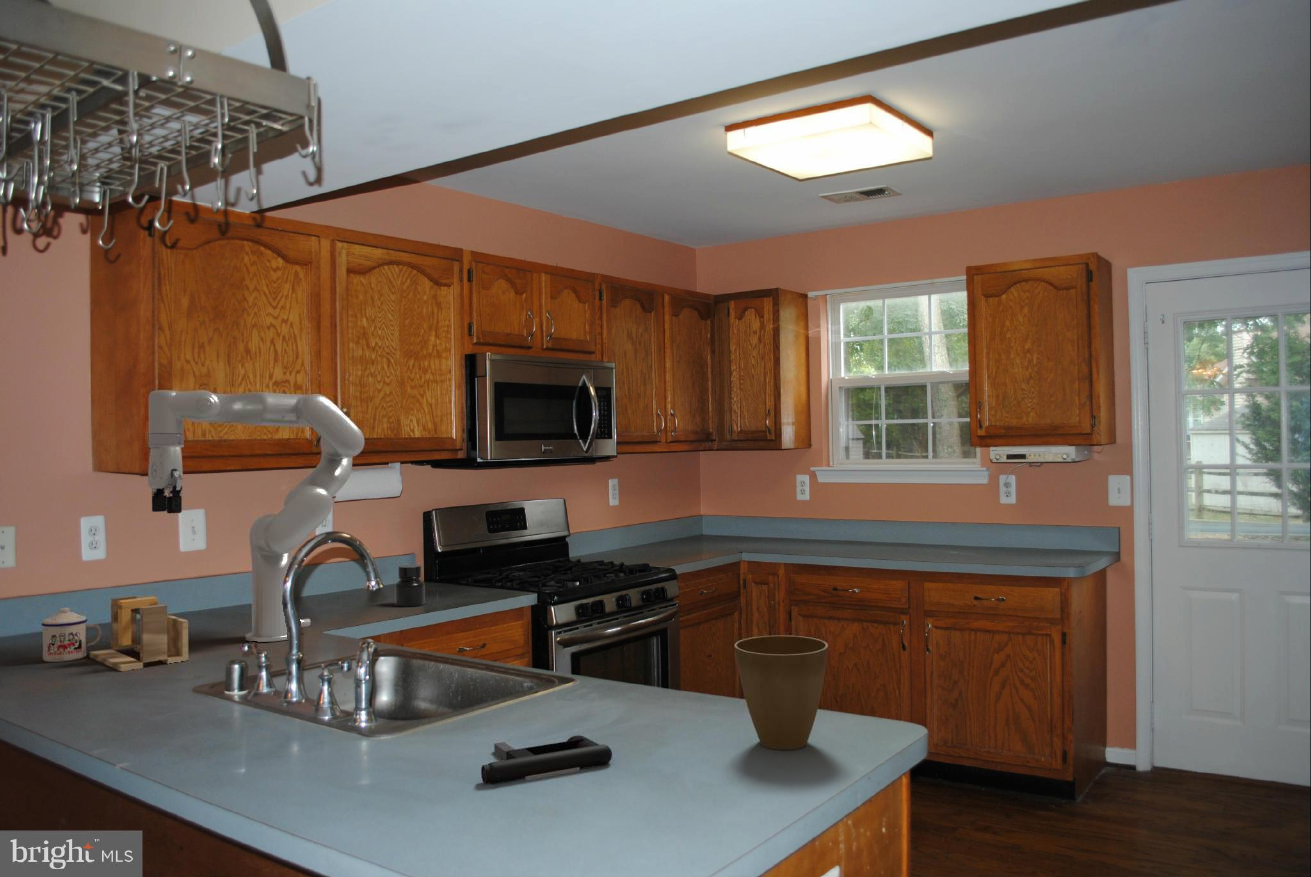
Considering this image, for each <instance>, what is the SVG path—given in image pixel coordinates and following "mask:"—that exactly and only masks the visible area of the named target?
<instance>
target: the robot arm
mask: <svg viewBox="0 0 1311 877" xmlns="http://www.w3.org/2000/svg"><path fill="white" fill-rule="evenodd" d="M184 419H185V420H187V421H190V422H195V423H198V422H199V423H214V424H215V423H216V424H217V423H220V424H221V423H222V424H240V425H247V426H261V427H262V426H263V427H264V426H267V427H268V426H269V427H288V428H290V427H291V428H312V429H313V430H314V431H315V432H316V433H317V434H318V436H320V449H321V458H320V461H319V463H318V464H317V465H316V467H315V468H313V470H312V471H311V472H310V473H309V474H308V475H307V476H306V477H305V478H304V479H303V480H302V481H300V482H299V483H298V484H297V485H296V486H295V487H293V488H292V489H291V490H290V491H289V492H288V493H287V495H286V496H285V498H284V500H283V501H284V502H283V508H282V509H281V510H280V511H279V512H277V514H275V513H268V514H263V515H261V516H260V517H258V518H257V519H256V520H254V522H253V523H252V525H251V527H250V530H249V536H248V537H249V547H250V556H251V557H250V558H251V627H252V628H251V631H250V632H247V633H246V634H245V641H248V642H252V641H257V642H256V643H264V642H265V643H268V642H270V643H271V642H280V641H287V640H288V639H287V627H286V623H285V616H284V612H283V605H282V588H283V580H284V578H285V575H286V573H287V569H288V566H289V564H290V561H291V562H292V554H291V552H292V551H294V550H295V549H297V547H299V546H300V545H301V544H303V542H304V541H306V539H307V538H309V536H310V535H312V534H313V533H314V531H316V530H317V528H319V527H320V526H321V525H322V524H323V523H324V522H325V521H326V519H327V518H328V517H329V515H330V513H331V512H332V509H333V497H335V495H337V493H338V492H339V491H340V490H341V489H342V488H343V487H344V486H345V485H346V484H347V482H348V480H349V478H350V476H351V473H352V469H353V458H354V457H356V456H357V455H359V454H360V453H361V452H362V451H363V449H364V447H365V436H364V433H363V432H362V431H361V429H360V428H359V427H358V426H357V425H356V424H355V423H354V422H353V421H352V420H351V419H350V418H349V417H348V416H347V415H346V414H345V413H344V412H343V411H342V410H341V409H340V408H339V407H338V406H337V405H336V404H335V403H334V402H333V401H332V400H331V399H329V398H328V397H327V396H325V395H324V394H319V393H313V394H296V393H295V394H293V393H278V392H277V393H276V392H265V391H264V392H263V391H262V392H260V391H258V392H247V393H234V394H233V393H214V392H212V391H209V390H206V389H205V390H204V389H198V390H189V391H188V390H187V391H179V390H171V389H169V390H167V389H165V390H164V389H161V390H160V389H159V390H158V389H156V390H153V391H150V393H149V395H148V448H150V450H149V457H148V459H149V460H148V471H147V472H148V473H147V474H148V475H147V485H148V487H149V488H150V489H151V511H152V513H153V512H154V513H158V512H159V513H161V512H162V513H163V512H166V513H167V514H181V513H182V512H183V511H182V510H183V509H182V508H183V507H182V505H183V504H182V501H183V500H182V498H183V492H182V490H183V481H184V479H183V476H184V475H183V474H184V473H183V455H182V448H184V447H185V446H184V445H185V443H184V441H185V439H184V438H185V437H184V436H185V435H184V432H185V430H184V428H185V424H184V423H185V422H184V421H185V420H184ZM166 492H167V494H166ZM299 619H300V621H301V628H302V627H303V628H304V627H310V626H311V622H312V621H311V619H310V618H303V619H301V618H299Z"/></svg>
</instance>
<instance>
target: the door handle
mask: <svg viewBox="0 0 1311 877" xmlns="http://www.w3.org/2000/svg"><path fill="white" fill-rule="evenodd" d="M493 745H494V746H493V747H494V748H493V750H494V753H495V754H496V755H497V756H498V757H500V758H501V760H499V761H492V762H489V763H487V764H483V765H481V769H480V774H481V779H482V780H481V781H482V782H483V784H489V785H495V784H502V783H507V782H514V781H519V780H525V781H529V780H534V779H541V778H546V777H552V776H557V775H563V774H570V773H575V772H580V770H582V769H587V768H588V769H589V768H593V767H599V766H600V767H601V766H605V765H608V764H609V763H610V762H611V760H612V759H613V752H612V749H611V748H610V747H609V746H608V745H607V744H599V743H597V742H595V741H593V740H592V739H590V738H587V737H586V736H584V735H573V736H570V737H569V738H568V739H567V740H566V741H560V742H555V743H554V742H553V743H547V744H542V745H536V746H530V747H529V746H528V747H522V748H517V749H516V748H514V747H512V746H511V745H510V744H508V743H506V742H504V741H503V742H502V741H501V742H496V743H493Z"/></svg>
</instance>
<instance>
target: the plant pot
mask: <svg viewBox="0 0 1311 877" xmlns="http://www.w3.org/2000/svg"><path fill="white" fill-rule="evenodd" d="M828 648H829V644H828V643H827V642H826V641H824V640H821V639H819V638H814V637H810V636H809V637H808V636H801V635H800V636H799V635H763V636H762V635H761V636H753V637H748V638H743V639H741V640H738V641H736V643H734V652H735V656H736V657H735V658H736V662H737V668H738V674H739V679H740V684H741V686H742V691H743V695H744V699H745V703H746V706H747V709H748V712H749V715H750V719H751V721H752V724H753V727H754V729H755V732H756V735H757V737H758V740H759V743H760V745H761V746H763V747H765V748H767V749H772V750H778V751H793V750H799V749H802V748H805V747H806V745H807V744H808V742H809V738H810V735H811V733H812V730H813V726H814V724H815V720H816V717H817V712H818V709H819V705H820V700H821V696H822V693H823V691H822V690H823V686H824V681H825V674H826V668H827V659H828Z"/></svg>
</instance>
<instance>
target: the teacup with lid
mask: <svg viewBox="0 0 1311 877" xmlns="http://www.w3.org/2000/svg"><path fill="white" fill-rule="evenodd" d="M70 610H71V609H70V608H69V607H61V608H59V612H57V613H54V614H53V615H51V616H50V617H48V618H45V619H43V620H42V622H41V626H42V660H43V661H44V662H47V663H56V662H57V663H61V662H70V661H75V660H76V661H77V660H80V659H83V658H85V657H86V656H87V647H89V646H93V645H96V644H97V643H98V642H99V641H100V639H101V637H102V633H103V632H102V631H103V630H102V628H101V626H99V625H98V624H94V623H90V624H89V623H87V622H88V618H87V616H85V615H81V614H77V613H76V612H74V611H70ZM88 628H95V629H97V631H98V634H97V636H96V638H95V639H94V640H92V641H89V642H87V629H88Z"/></svg>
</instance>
